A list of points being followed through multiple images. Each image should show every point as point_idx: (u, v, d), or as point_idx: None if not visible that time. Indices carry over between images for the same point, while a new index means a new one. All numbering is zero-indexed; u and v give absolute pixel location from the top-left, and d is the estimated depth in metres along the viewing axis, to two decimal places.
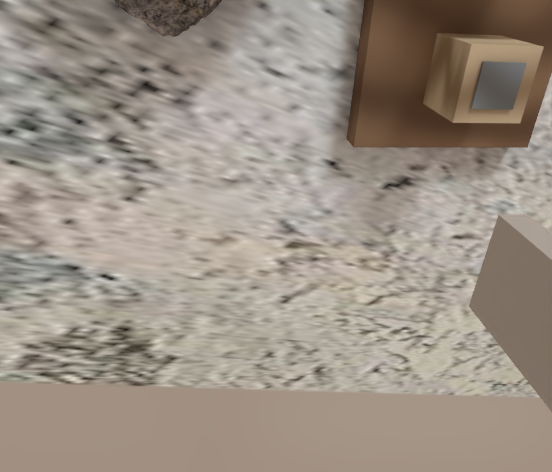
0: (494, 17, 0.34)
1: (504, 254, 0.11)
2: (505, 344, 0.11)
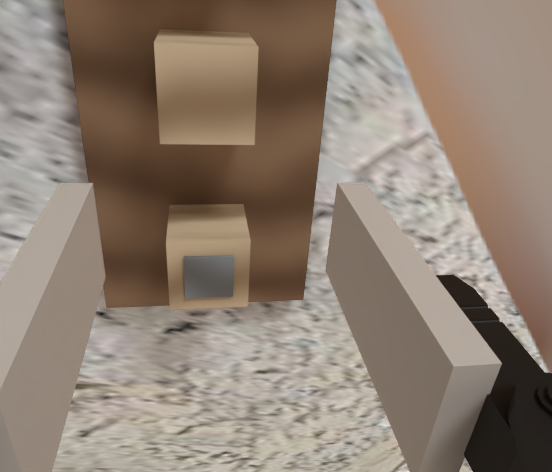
0: (230, 188, 0.33)
1: (340, 218, 0.12)
2: (341, 300, 0.12)
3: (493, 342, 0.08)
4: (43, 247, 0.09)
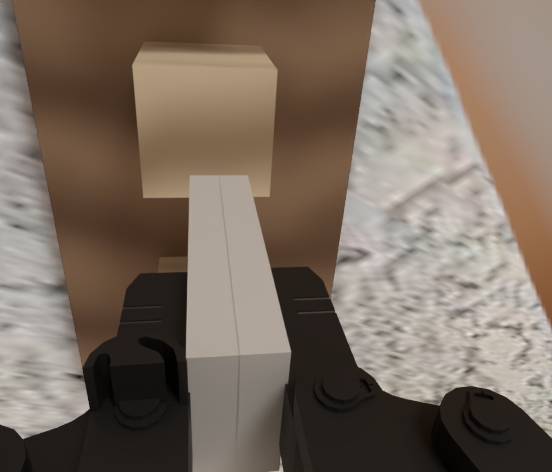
0: None
1: None
2: None
3: (316, 333, 0.08)
4: (208, 232, 0.10)
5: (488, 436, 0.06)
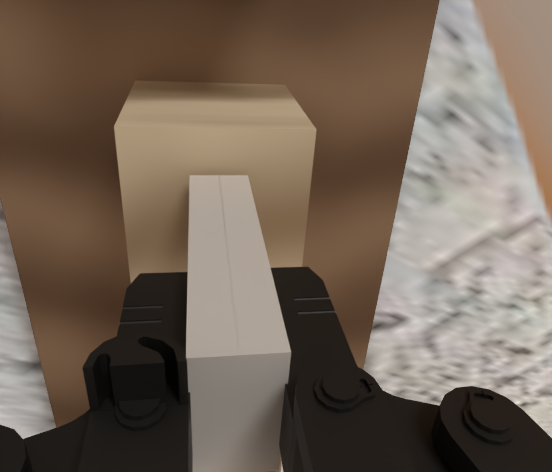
0: None
1: None
2: None
3: (316, 333, 0.08)
4: (208, 231, 0.10)
5: (487, 436, 0.06)
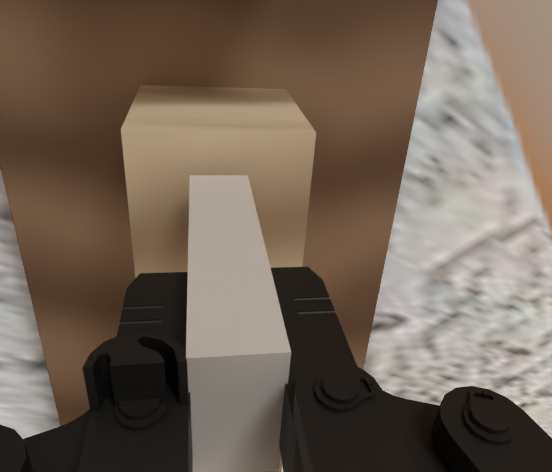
0: None
1: None
2: None
3: (316, 333, 0.08)
4: (208, 231, 0.10)
5: (489, 436, 0.06)
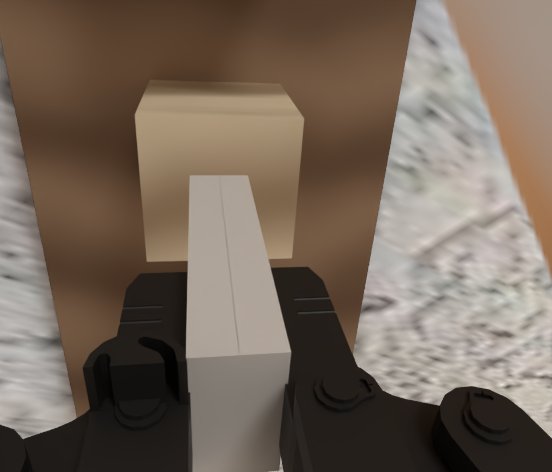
0: None
1: None
2: None
3: (316, 333, 0.08)
4: (208, 231, 0.10)
5: (488, 436, 0.06)
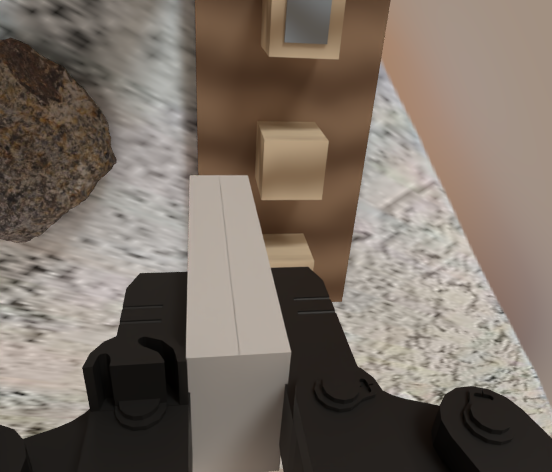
0: (295, 222, 0.46)
1: None
2: None
3: (316, 333, 0.08)
4: (208, 231, 0.10)
5: (488, 436, 0.06)
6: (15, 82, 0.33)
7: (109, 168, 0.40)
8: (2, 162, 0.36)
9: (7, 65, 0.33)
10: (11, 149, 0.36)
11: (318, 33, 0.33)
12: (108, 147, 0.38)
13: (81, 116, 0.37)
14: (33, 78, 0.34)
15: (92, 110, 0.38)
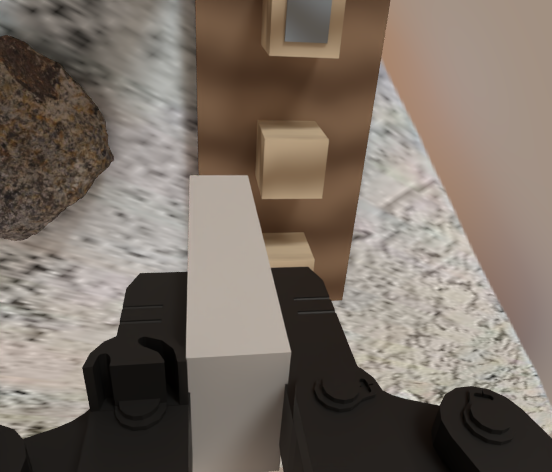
0: (295, 221, 0.46)
1: None
2: None
3: (316, 333, 0.08)
4: (208, 231, 0.10)
5: (488, 436, 0.06)
6: (11, 79, 0.33)
7: (106, 165, 0.40)
8: None
9: (3, 62, 0.33)
10: (8, 146, 0.36)
11: (318, 32, 0.33)
12: (105, 145, 0.38)
13: (78, 113, 0.37)
14: (29, 76, 0.34)
15: (89, 107, 0.38)
